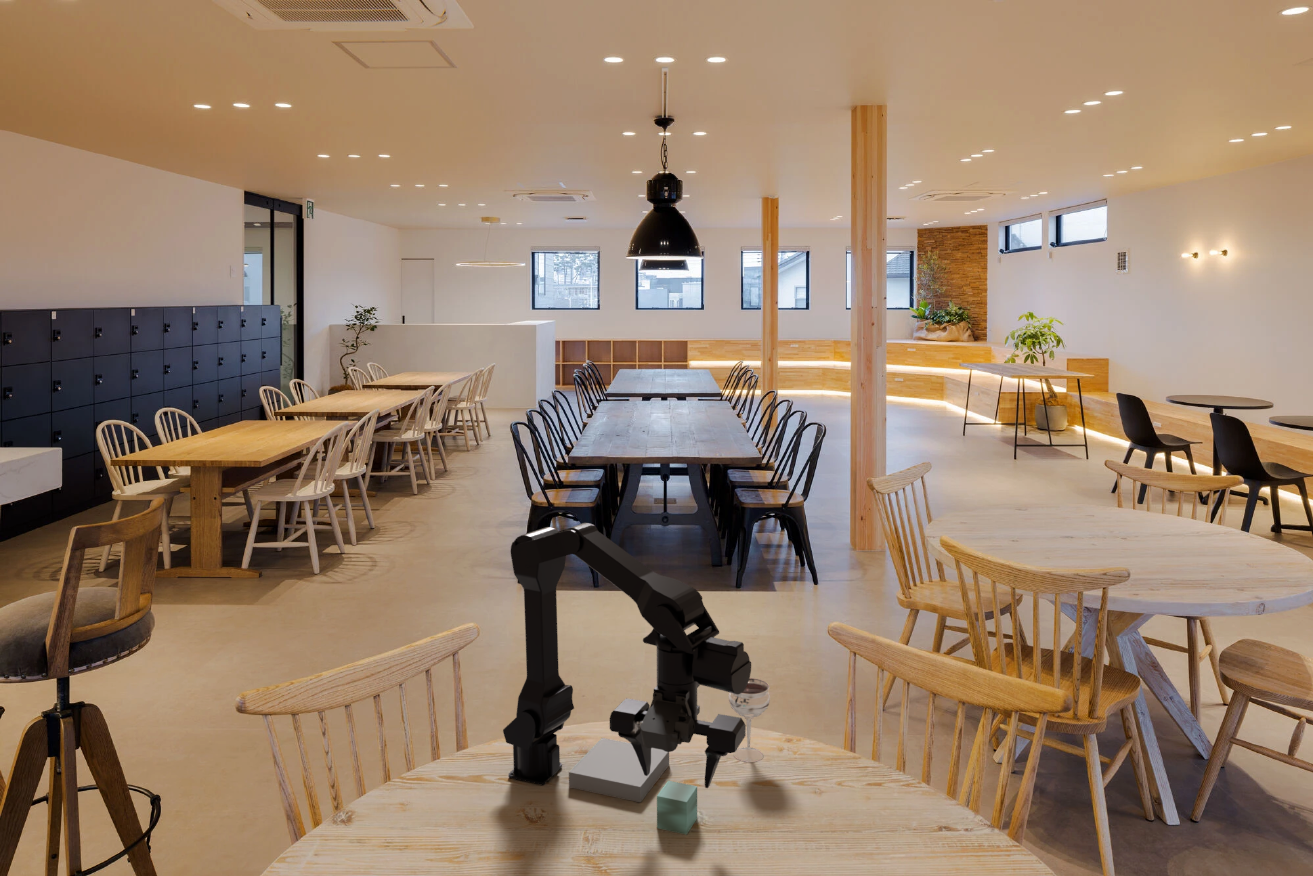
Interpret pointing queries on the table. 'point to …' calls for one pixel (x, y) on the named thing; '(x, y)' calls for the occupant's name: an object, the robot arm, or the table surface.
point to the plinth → (617, 770)
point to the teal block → (677, 807)
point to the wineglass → (750, 713)
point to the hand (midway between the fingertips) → (677, 780)
